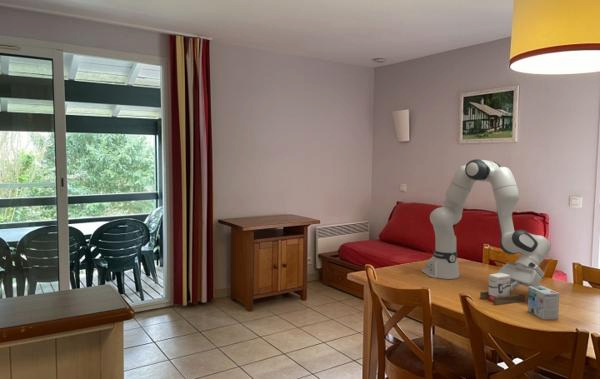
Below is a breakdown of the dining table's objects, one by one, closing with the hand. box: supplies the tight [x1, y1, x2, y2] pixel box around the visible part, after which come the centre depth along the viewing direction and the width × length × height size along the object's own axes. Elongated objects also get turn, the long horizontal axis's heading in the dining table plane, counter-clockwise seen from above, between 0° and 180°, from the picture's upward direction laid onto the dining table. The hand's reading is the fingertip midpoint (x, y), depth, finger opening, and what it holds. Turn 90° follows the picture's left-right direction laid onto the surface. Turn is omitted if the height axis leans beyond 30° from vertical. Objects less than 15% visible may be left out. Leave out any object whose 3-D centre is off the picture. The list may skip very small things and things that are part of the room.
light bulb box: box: [527, 285, 560, 321], centre depth 176 cm, size 11×7×11 cm, turn 5°
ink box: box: [488, 272, 511, 302], centre depth 195 cm, size 8×5×12 cm, turn 115°
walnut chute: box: [479, 290, 526, 306], centre depth 195 cm, size 10×16×3 cm, turn 108°
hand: (508, 288), depth 196 cm, fingers closed
